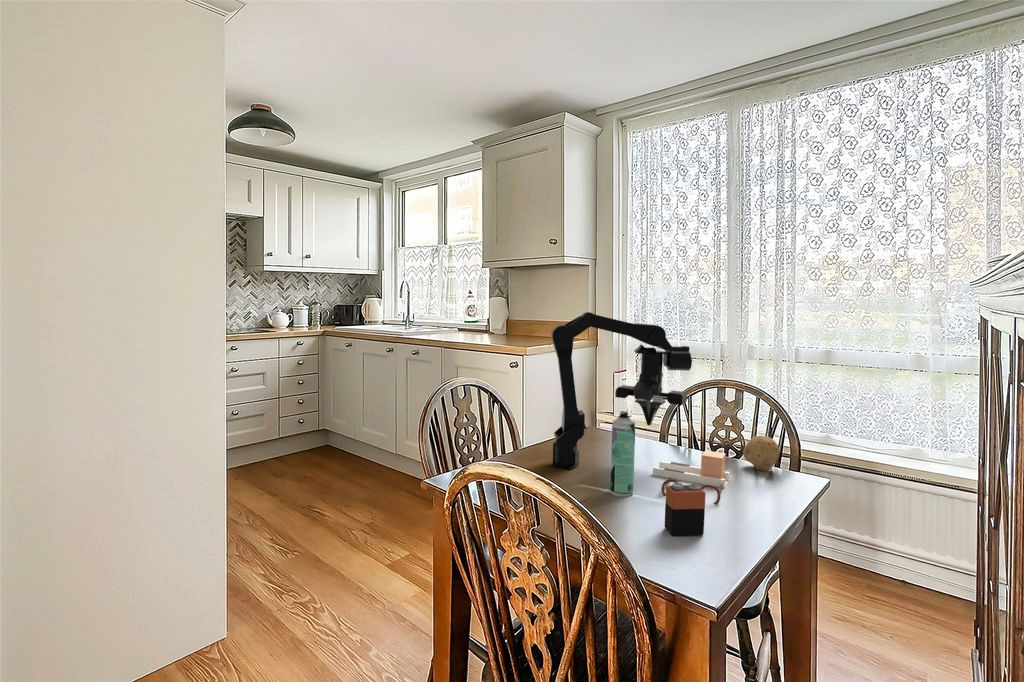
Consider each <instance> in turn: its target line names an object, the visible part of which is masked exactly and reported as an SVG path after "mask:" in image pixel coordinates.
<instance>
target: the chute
mask: <svg viewBox="0 0 1024 682" xmlns="http://www.w3.org/2000/svg"><path fill="white" fill-rule="evenodd" d="M658 465H659V466H658V467H657V466H653V467H652V476H656V477H661V478H667V479H668V478H669V477H671V479H673V480H677V481H678V480H679V481H685V482H690V483H694V484H701V485H712V486H715V487H716V488H720V485H721V484H723V485H722V489H723V488H724V489H725V487H726V486H727V485H728V483H729V481H730V474H731V473H730V472H729V471H725V478H724V479H721V478H715V477H709V476H703V475H701V466H700V467H699V466H695V465H694V466H693V465H691V464H689V463H682V462H676V461H671V462H668V461H662V460H660V461H659V464H658Z"/></svg>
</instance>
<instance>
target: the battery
mask: <svg viewBox="0 0 1024 682" xmlns="http://www.w3.org/2000/svg"><path fill="white" fill-rule="evenodd" d="M671 483H672V485H670V484H669V485H665V494H666V496H665V502H664V505H665V506H664V507H665V508H664V528H665V530H666V531H667V532H668V533H669V534H670V535H671V536H672V537H687V536H688V537H689V536H690V537H691V536H694V537H695V536H703V535H704V534H705V514H706V513H705V511H706V510H705V509H706V492H705V490H704V489H703V490H702V489H701V487H699V483H695V482H691V483H690V484H685V485H684V484H683V483H682V482H679V483H674V482H671Z"/></svg>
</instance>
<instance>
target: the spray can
mask: <svg viewBox="0 0 1024 682" xmlns="http://www.w3.org/2000/svg"><path fill="white" fill-rule="evenodd" d="M628 414H629V413H628V411H625V410H624V411H620V414H619V416H617V418H616V419H614V420H612V425H611V426H612V427H611V454H610V455H611V456H610V457H611V458H610V483H609V485H610V486H609V487H610V488H609V489H610V490H609V492H610V494H611V495H613V496H615V497H619V498H627V497H628V498H629V497H632V496H633V495H634V482H635V481H634V479H635V477H634V474H635V451H636V450H635V448H636V446H635V445H636V422H635V421H634V420H632V419H631V416H629V415H628Z"/></svg>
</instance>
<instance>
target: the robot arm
mask: <svg viewBox="0 0 1024 682" xmlns="http://www.w3.org/2000/svg"><path fill="white" fill-rule="evenodd" d="M589 328H595V329H599V330H602V331H603V330H604V331H607V332H611V333H616V334H620V335H622V336H623V335H624V336H628V337H630V338H632V339H635V340H636V341H639V342H641V343H644V344H646V345H649V346H650V347H645V346H644V345H643V344H639V346H638V347H637V348H636V349H634V353H636V354H638V355H641V359H640V360H641V364H640V368H641V369H640V373H639V377H638V380H637V382H636V383H635V384H634V385H632V386H631V385H625V384H622V385H621V386H618V387H616V389H615V393H614V394H615V395H614V397H615V398H619V399H620V398H621V399H626V398H628V397H629V396H631V397H634V399H635V400H634V403H635V404H637V403H638V405H639V406H640V408H641V410H642V413H643V415H644V418H645V422H646V425H647V426H651V425H652V423H653V421H654V419H655V417H656V415H657V413H658V410H659V409H660V407H661V406H662V405H664V404H665V403H666V402H667V403H669V404H671V405H679V406H680V405H681V406H682V405H684V404H685V403H687V400H688V394H687V393H686V392H685V391H682V390H681V391H680V390H671V391H669V392H663V387H662V385H663V383H662V382H663V376H664V373H663V366H664V367H666V368H667V370H668V371H686V372H687V371H690V370H691V369H692V366H693V365H692V364H693V359H692V354H691V352H690V349H691V348H690V346H687V345H682V346H680V345H679V346H675V345H674V346H672V344H671V343H670V342H669V340H668V339H667V333H666V331H665V329H664V328H663V327H662V326H659V325H656V324H650V323H633V322H627V321H623V320H619V319H615V318H611V317H607V316H603V315H599V314H595V313H593V312H590V311H585V312H583V313H582V314H581V315H579V316H578V317H576V318H574V319H572V320H570V321H568V322H567V323H565V324H557V325H555V326H554V327H553V328H552V330H551V331H550V338H551V342H552V345H553V347H554V350H555V351H554V352H555V355H556V358H557V363H558V371H559V380H560V390H561V397H562V404H563V405H562V414H561V426H560V427H558V429H557V430H555V431H554V432H553V434H554V437H555V441H554V442H552V462H551V463H549V465H550V467H555V468H560V469H565V470H572V469H574V468H576V467H577V466H578V465H580V462H579V461H580V449H578V441H579V440H581V439H582V438H583V437H584V435H585V430H587V426H586V424H585V422H586V421H585V418H586V415H585V413H584V411H583V410H582V409H580V410H579V409H578V403H577V395H576V387H575V385H576V384H575V377H574V368H573V367H574V366H573V361H572V360H573V349H574V339H575V338H576V337H577V336H579V335H580V334H582V333H584V331H586V330H587V329H589ZM651 346H652V347H651ZM655 347H656V348H658V349H660V351H659V350H656V348H655ZM662 350H663V351H662Z"/></svg>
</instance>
